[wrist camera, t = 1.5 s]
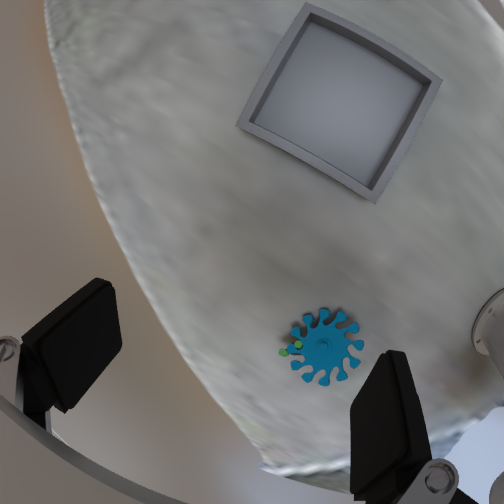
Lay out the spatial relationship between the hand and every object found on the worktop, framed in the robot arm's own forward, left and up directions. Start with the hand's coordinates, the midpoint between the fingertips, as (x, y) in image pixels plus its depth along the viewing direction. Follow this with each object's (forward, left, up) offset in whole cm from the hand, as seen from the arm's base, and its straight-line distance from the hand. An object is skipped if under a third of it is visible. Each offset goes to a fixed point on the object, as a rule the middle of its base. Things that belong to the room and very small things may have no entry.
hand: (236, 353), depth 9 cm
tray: (+1, -13, -25) cm, 28 cm away
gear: (-12, +14, -26) cm, 32 cm away
